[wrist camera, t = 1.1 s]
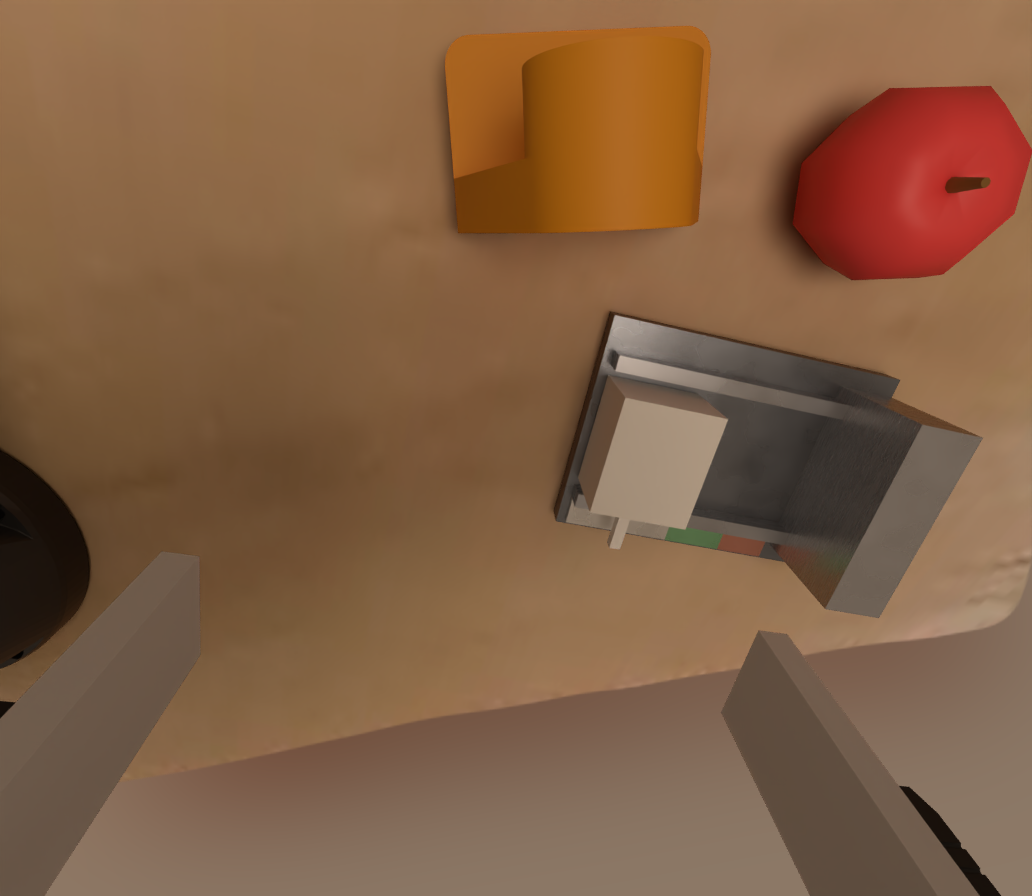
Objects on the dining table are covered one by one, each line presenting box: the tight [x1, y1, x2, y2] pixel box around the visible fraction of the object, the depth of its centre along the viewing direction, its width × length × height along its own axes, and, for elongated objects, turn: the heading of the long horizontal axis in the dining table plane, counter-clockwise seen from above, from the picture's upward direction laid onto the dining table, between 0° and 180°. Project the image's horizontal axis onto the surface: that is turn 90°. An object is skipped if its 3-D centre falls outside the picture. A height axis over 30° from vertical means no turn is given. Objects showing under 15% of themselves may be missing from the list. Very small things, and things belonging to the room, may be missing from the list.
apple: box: [793, 86, 1032, 280], centre depth 23 cm, size 8×8×8 cm
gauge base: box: [554, 312, 983, 618], centre depth 28 cm, size 16×12×7 cm
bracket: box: [445, 26, 711, 233], centre depth 20 cm, size 11×7×12 cm, turn 93°
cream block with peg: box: [578, 375, 728, 549], centre depth 29 cm, size 5×9×4 cm, turn 167°
